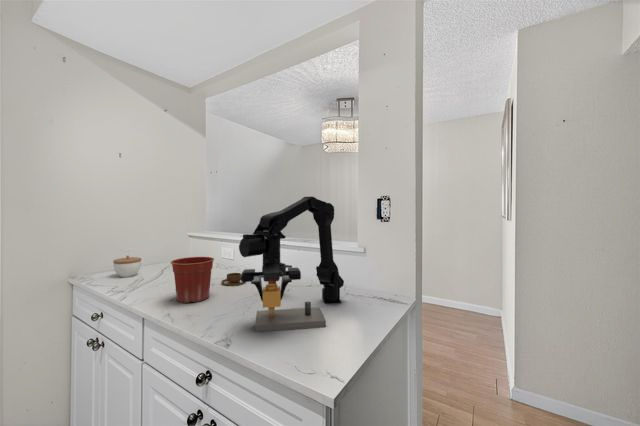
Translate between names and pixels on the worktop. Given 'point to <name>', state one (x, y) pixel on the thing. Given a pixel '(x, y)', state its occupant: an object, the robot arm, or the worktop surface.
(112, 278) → the worktop surface
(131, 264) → the lidded bowl
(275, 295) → the orange knobbed cube
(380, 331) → the worktop surface
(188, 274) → the flower pot
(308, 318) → the grey peg board
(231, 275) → the brown cup and saucer
